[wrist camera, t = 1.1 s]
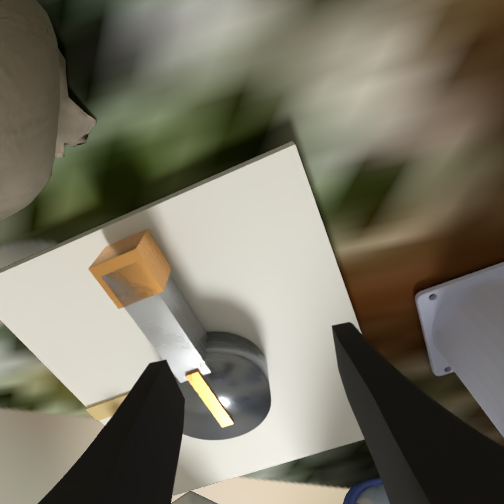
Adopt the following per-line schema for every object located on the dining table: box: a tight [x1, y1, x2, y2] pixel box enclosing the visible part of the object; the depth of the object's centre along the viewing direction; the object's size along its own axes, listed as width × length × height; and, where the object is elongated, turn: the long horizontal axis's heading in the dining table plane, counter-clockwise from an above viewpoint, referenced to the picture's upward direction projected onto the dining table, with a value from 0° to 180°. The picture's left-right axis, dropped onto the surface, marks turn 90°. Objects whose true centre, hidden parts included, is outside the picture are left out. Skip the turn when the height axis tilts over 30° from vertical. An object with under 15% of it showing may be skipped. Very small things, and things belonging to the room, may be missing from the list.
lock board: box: [0, 141, 364, 495], centre depth 22 cm, size 20×24×4 cm
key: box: [88, 229, 271, 440], centre depth 20 cm, size 15×7×3 cm, turn 23°
